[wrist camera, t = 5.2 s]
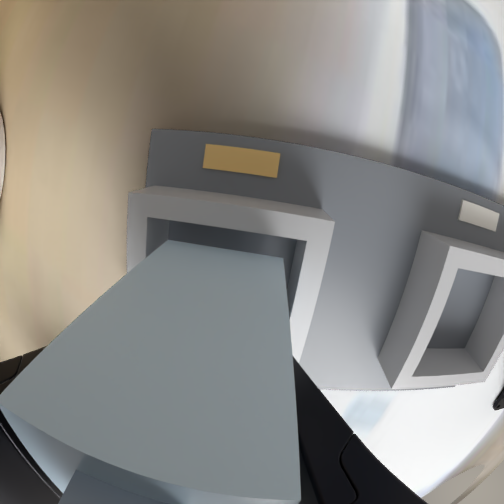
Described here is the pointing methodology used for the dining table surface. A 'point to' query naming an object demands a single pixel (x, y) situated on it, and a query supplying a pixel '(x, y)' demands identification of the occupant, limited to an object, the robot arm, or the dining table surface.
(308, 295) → the panel
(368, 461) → the robot arm
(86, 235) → the dining table surface
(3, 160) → the toilet tissue
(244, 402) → the plug
